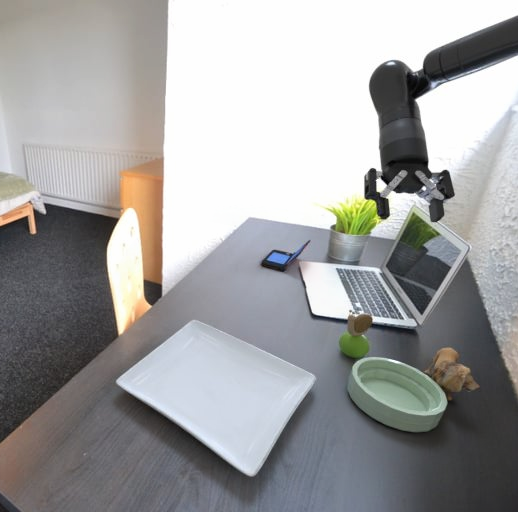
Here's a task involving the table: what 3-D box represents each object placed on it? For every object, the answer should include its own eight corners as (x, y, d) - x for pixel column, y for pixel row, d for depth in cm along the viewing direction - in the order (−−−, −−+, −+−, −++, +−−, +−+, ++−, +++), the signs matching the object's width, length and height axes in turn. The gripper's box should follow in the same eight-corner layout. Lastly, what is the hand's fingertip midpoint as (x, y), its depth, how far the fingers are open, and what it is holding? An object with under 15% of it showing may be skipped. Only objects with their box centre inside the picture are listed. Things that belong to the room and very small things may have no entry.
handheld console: (272, 251, 124) (276, 231, 121) (306, 260, 118) (311, 239, 115) (259, 265, 116) (262, 244, 112) (295, 275, 109) (300, 252, 106)
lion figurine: (465, 419, 63) (487, 380, 59) (426, 407, 65) (445, 369, 61) (447, 366, 74) (464, 330, 70) (414, 357, 77) (429, 322, 73)
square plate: (250, 495, 53) (254, 477, 51) (113, 395, 70) (112, 379, 68) (314, 388, 70) (319, 373, 68) (192, 329, 87) (193, 316, 85)
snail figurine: (326, 350, 80) (339, 303, 74) (349, 344, 81) (364, 298, 76) (347, 367, 75) (363, 318, 70) (372, 360, 76) (389, 312, 71)
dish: (414, 380, 71) (422, 362, 69) (455, 441, 59) (466, 421, 57) (337, 370, 74) (342, 352, 72) (361, 426, 62) (368, 407, 60)
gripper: (371, 135, 73) (378, 208, 68) (455, 135, 70) (468, 212, 65) (355, 157, 80) (360, 225, 75) (431, 158, 77) (441, 229, 72)
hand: (410, 219), depth 70 cm, fingers open, 8 cm apart
